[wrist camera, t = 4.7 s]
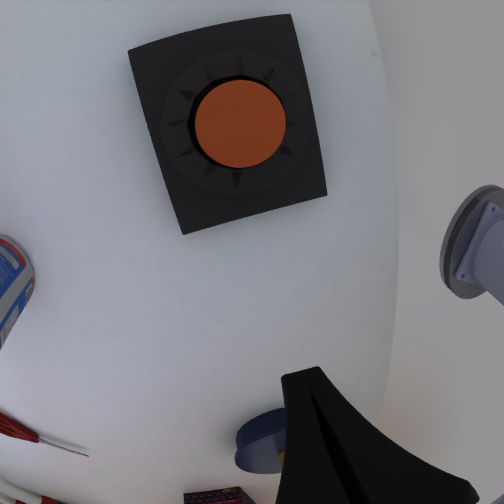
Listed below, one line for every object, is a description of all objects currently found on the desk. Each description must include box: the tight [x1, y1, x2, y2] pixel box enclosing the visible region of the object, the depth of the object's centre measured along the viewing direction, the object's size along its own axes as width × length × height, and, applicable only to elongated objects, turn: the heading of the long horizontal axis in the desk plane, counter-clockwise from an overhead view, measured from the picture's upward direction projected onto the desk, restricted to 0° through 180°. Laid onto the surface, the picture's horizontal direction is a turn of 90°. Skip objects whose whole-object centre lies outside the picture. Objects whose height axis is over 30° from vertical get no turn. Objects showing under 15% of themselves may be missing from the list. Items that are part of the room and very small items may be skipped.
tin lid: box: [234, 426, 286, 474], centre depth 26 cm, size 11×11×4 cm
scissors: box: [0, 412, 89, 457], centre depth 25 cm, size 5×14×1 cm, turn 65°
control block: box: [128, 14, 327, 235], centre depth 14 cm, size 10×8×3 cm
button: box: [195, 80, 286, 168], centre depth 12 cm, size 4×4×2 cm
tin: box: [236, 408, 286, 450], centre depth 28 cm, size 10×10×2 cm
